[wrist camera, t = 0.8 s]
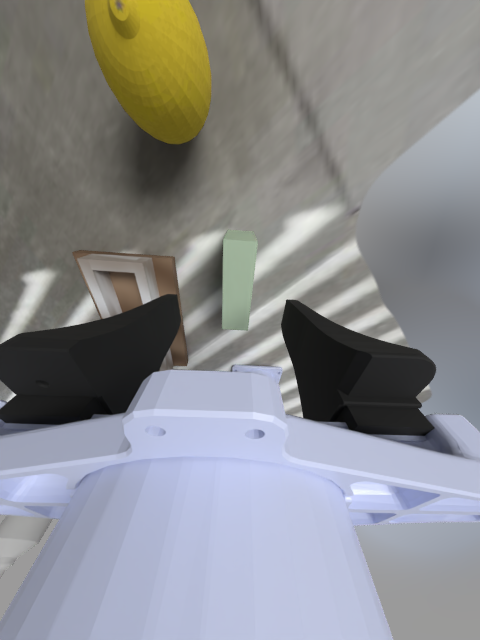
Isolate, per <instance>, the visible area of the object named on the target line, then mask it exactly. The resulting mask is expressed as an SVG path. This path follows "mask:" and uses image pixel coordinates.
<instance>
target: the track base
mask: <svg viewBox="0 0 480 640" xmlns="http://www.w3.org/2000/svg"><path fill="white" fill-rule="evenodd" d="M72 253H73V256H74V258H75V260H76V262H77V265H78V267H79V269H80V272H81V274H82V276H83V279H84V281H85V283H86V285H87V288H88V290H89V292H90V295H91V297H92V299H93V302H94V304H95V306H96V308H97V311H98V313H99V315H100V318H101V319H104V318H108V317H111V316H114V315H117V314H121V313H123V312H126V311H129V310H131V309H134V308H136V307H138V306H141V305H143V304H145V303H147V302H150V301H152V300H154V299H156V298H158V297H161V296H163V295H166V294H177V296H178V302H179V309H180V315H181V324H180V327H179V330H178V333H177V335H176V337H175V339H174V341H173V343H172V345H171V347H170V348H169V350H168V352H167V354H166V356H165V358H164V360H163V362H162V365H161V367H160V370H159V371H165V370H172V368H173V366H187V364H188V355H187V348H186V340H185V333H184V325H183V318H182V310H181V303H180V295H179V288H178V280H177V273H176V265H175V258H174V257H170V256H156V255H141V254H127V253H113V252H98V251H84V250H79V251H75V252H72Z"/></svg>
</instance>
